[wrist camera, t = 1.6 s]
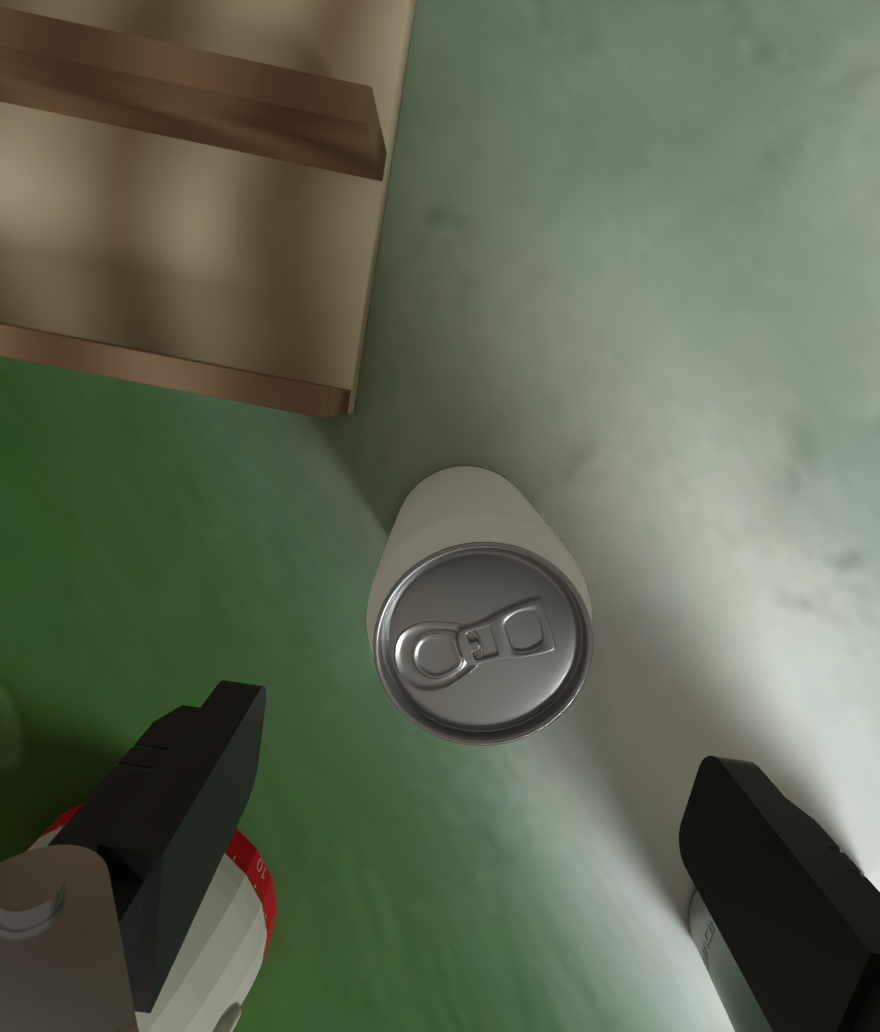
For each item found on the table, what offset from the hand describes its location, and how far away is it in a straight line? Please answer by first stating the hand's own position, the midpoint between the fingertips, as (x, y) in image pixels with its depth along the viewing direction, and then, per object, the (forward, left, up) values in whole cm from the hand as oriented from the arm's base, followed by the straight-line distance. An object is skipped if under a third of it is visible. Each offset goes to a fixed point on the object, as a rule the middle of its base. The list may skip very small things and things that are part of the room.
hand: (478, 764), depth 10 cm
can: (0, 0, -16) cm, 16 cm away
